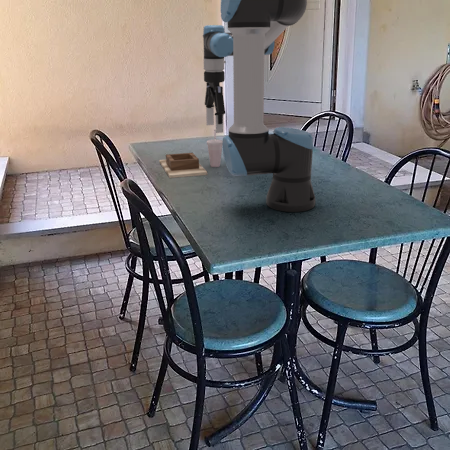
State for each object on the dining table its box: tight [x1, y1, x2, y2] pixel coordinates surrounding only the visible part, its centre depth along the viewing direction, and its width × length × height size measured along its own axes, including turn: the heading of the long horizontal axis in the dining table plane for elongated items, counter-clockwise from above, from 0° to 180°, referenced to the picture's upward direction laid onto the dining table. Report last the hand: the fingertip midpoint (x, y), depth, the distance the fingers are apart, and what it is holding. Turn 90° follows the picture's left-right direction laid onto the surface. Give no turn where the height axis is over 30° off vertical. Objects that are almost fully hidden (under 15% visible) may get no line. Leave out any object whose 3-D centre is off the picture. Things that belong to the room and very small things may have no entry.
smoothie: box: [206, 129, 223, 168], centre depth 202 cm, size 6×6×14 cm
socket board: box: [159, 152, 208, 179], centre depth 201 cm, size 22×14×4 cm, turn 16°
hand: (214, 128), depth 200 cm, fingers open, 13 cm apart
